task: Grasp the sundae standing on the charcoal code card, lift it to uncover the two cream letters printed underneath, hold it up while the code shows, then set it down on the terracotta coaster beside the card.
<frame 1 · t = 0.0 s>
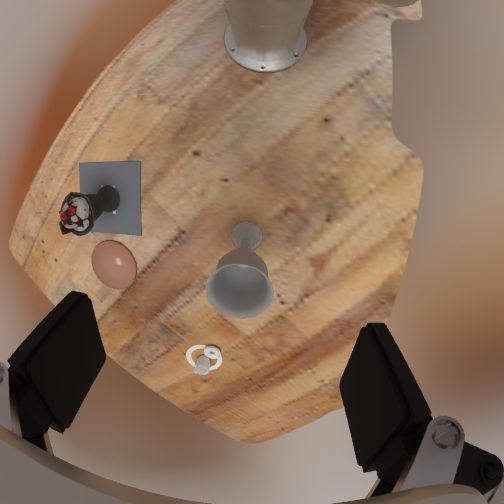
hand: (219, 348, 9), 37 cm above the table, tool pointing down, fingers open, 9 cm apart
coaster: (114, 264, 49), on the table
teacup and saucer: (218, 358, 58), on the table
chalice: (246, 235, 46), on the table
code card: (108, 198, 44), on the table
sundae: (108, 198, 44), resting on code card
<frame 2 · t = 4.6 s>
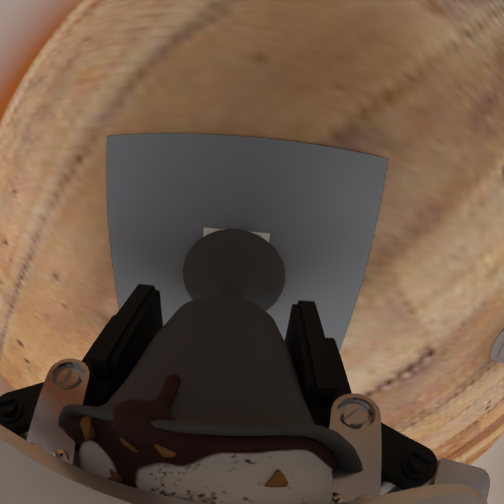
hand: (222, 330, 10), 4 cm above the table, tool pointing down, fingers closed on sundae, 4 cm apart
code card: (233, 273, 14), on the table
sundae: (233, 274, 14), resting on code card, touching gripper
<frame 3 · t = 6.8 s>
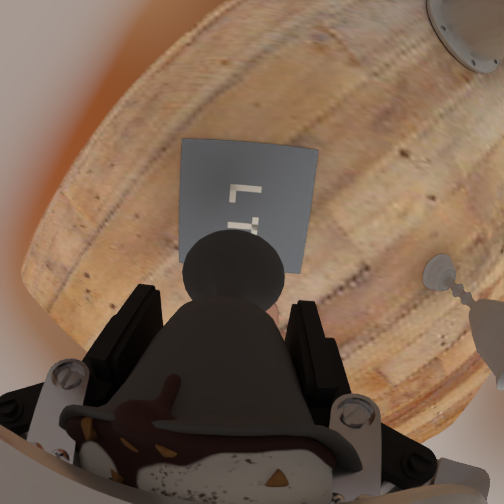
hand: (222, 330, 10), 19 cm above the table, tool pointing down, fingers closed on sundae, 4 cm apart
chalice: (437, 271, 30), on the table
code card: (244, 207, 27), on the table
sundae: (233, 274, 14), point 15 cm above the table, touching gripper
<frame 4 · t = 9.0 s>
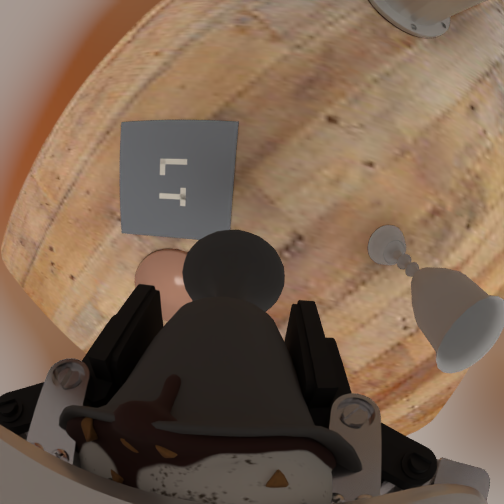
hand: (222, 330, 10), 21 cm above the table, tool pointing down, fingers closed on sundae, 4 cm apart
coaster: (174, 286, 33), on the table
chalice: (386, 244, 31), on the table
code card: (173, 179, 28), on the table
sundae: (233, 275, 14), point 17 cm above the table, touching gripper
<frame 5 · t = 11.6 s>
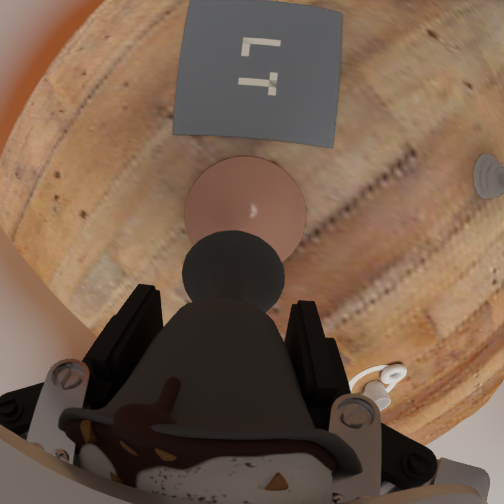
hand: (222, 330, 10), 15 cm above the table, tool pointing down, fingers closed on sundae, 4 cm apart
coaster: (245, 215, 23), on the table
teacup and saucer: (388, 381, 32), on the table
chalice: (486, 176, 21), on the table
code card: (259, 63, 18), on the table
sundae: (233, 275, 14), point 11 cm above the table, touching gripper
when the fingers open (6 cm above the table, at t = 13.8 s): sundae moves 1 cm, point 1 cm above the table.
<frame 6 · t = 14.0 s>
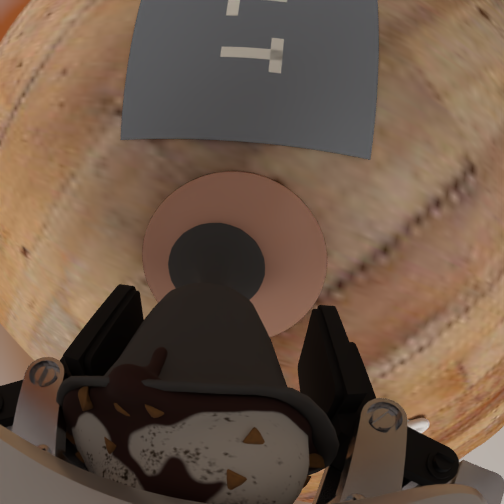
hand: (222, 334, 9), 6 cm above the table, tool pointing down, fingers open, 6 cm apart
coaster: (233, 263, 15), on the table
teacup and saucer: (406, 431, 24), on the table
code card: (254, 25, 10), on the table
sundae: (216, 266, 14), point 1 cm above the table, touching gripper
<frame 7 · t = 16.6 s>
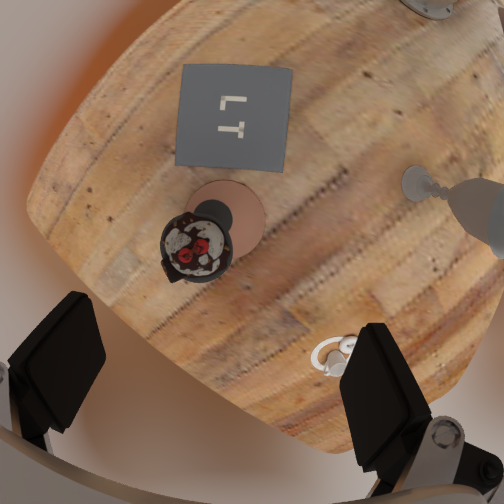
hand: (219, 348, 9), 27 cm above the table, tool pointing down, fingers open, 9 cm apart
coaster: (224, 219, 35), on the table
teacup and saucer: (349, 353, 43), on the table
chalice: (415, 183, 32), on the table
code card: (232, 114, 30), on the table
sundae: (212, 218, 34), point 1 cm above the table, touching coaster
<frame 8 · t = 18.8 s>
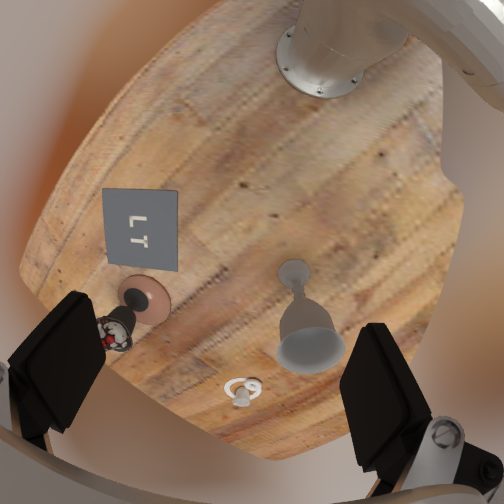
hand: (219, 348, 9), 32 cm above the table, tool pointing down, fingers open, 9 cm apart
coaster: (144, 299, 46), on the table
teacup and saucer: (256, 389, 56), on the table
chalice: (294, 273, 44), on the table
code card: (138, 229, 41), on the table
sundae: (136, 299, 46), point 1 cm above the table, touching coaster
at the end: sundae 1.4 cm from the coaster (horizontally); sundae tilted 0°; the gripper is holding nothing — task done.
